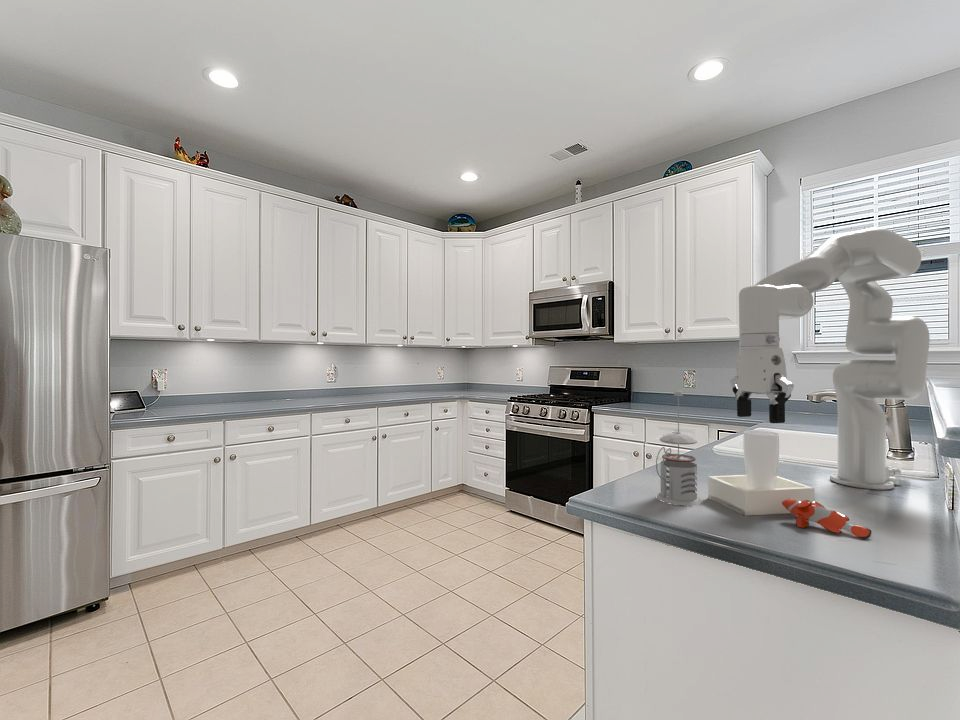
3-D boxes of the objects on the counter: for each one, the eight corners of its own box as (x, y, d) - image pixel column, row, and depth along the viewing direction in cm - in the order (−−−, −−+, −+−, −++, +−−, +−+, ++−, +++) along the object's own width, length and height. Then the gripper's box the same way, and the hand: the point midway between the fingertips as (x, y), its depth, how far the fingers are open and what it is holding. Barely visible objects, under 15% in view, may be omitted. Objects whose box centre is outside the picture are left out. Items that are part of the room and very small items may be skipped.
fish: (773, 495, 92) (805, 491, 94) (773, 519, 92) (805, 514, 94) (841, 517, 80) (875, 512, 82) (841, 544, 80) (875, 538, 82)
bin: (770, 494, 108) (770, 473, 108) (814, 511, 96) (814, 488, 96) (708, 497, 106) (708, 476, 106) (745, 515, 94) (745, 491, 94)
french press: (711, 501, 104) (711, 391, 103) (678, 510, 98) (678, 393, 97) (673, 490, 112) (673, 388, 112) (641, 498, 106) (641, 390, 106)
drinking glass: (787, 504, 98) (787, 434, 98) (759, 506, 97) (759, 435, 97) (762, 495, 105) (762, 429, 105) (736, 496, 104) (736, 430, 103)
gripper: (807, 340, 93) (808, 424, 93) (746, 342, 110) (747, 413, 110) (774, 341, 92) (775, 426, 92) (717, 343, 109) (718, 415, 109)
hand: (759, 419), depth 101 cm, fingers open, 9 cm apart
